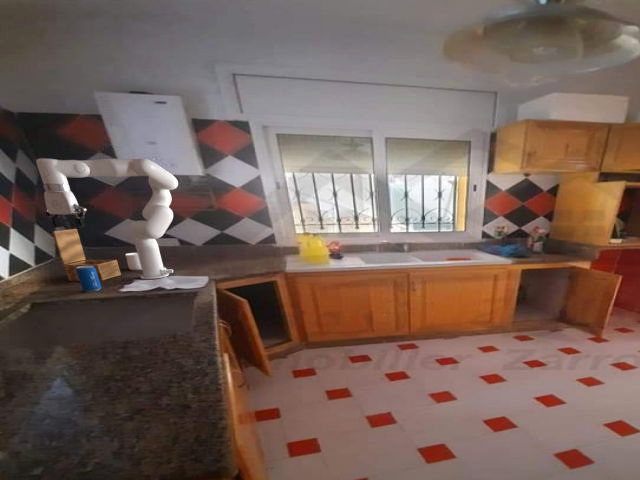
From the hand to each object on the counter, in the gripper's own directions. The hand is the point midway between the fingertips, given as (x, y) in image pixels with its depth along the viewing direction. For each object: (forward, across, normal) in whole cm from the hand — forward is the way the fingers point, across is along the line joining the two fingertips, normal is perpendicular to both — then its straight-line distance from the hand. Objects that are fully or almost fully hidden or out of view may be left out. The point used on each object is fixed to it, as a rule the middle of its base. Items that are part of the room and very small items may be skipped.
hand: (70, 227), depth 147 cm
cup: (+31, -11, +47) cm, 57 cm away
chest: (+31, -18, +25) cm, 44 cm away
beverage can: (+31, +1, 0) cm, 31 cm away
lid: (+13, -26, +25) cm, 38 cm away
